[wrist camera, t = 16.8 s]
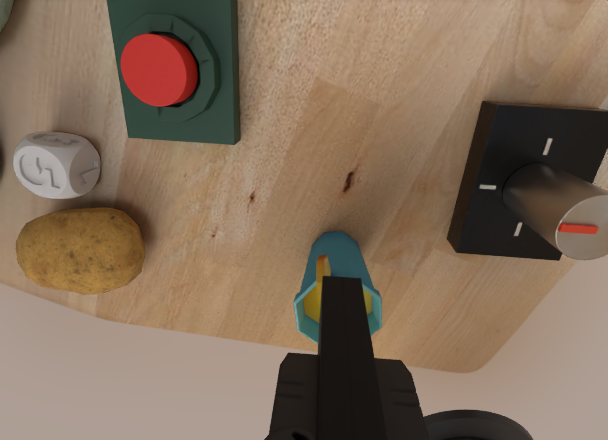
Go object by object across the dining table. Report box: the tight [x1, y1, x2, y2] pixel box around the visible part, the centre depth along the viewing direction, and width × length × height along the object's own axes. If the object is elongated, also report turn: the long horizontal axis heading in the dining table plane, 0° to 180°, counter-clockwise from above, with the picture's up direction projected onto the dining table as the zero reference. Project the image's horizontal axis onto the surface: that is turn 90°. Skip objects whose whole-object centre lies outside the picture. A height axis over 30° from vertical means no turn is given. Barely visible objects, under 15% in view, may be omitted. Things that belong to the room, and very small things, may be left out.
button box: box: [107, 0, 240, 145], centre depth 29 cm, size 12×10×4 cm
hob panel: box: [447, 101, 608, 261], centre depth 32 cm, size 14×10×3 cm
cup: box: [294, 231, 382, 344], centre depth 32 cm, size 14×8×15 cm, turn 28°
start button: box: [121, 34, 198, 106], centre depth 27 cm, size 5×5×3 cm
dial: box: [503, 163, 608, 260], centre depth 27 cm, size 5×5×8 cm
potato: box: [16, 207, 145, 294], centre depth 36 cm, size 9×13×7 cm
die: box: [13, 132, 100, 199], centre depth 33 cm, size 5×5×5 cm
